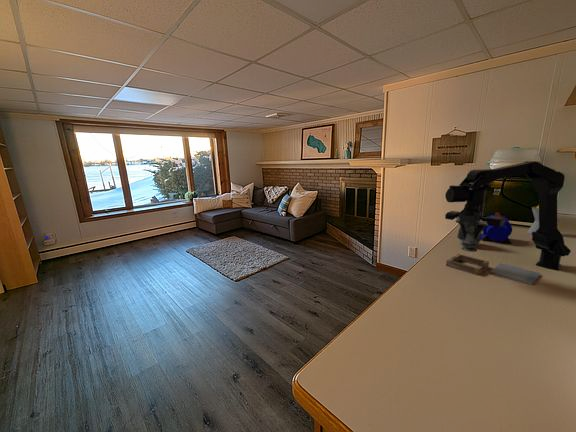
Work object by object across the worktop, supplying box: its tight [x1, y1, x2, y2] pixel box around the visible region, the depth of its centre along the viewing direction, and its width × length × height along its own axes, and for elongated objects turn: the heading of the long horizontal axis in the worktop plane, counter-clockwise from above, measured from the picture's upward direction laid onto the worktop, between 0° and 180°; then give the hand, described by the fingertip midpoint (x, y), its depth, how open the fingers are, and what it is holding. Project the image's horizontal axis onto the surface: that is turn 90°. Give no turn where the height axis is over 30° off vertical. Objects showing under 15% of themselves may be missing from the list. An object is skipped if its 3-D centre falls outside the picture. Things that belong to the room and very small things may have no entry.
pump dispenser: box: [456, 221, 482, 246], centre depth 124 cm, size 10×10×15 cm
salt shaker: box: [461, 223, 480, 253], centre depth 99 cm, size 6×6×12 cm
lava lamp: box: [527, 204, 539, 235], centre depth 134 cm, size 9×9×35 cm
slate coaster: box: [489, 262, 541, 286], centre depth 94 cm, size 12×12×1 cm
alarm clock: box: [481, 211, 513, 245], centre depth 129 cm, size 12×12×15 cm
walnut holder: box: [445, 253, 490, 276], centre depth 102 cm, size 11×11×2 cm
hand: (470, 238), depth 99 cm, fingers closed on salt shaker, 3 cm apart
